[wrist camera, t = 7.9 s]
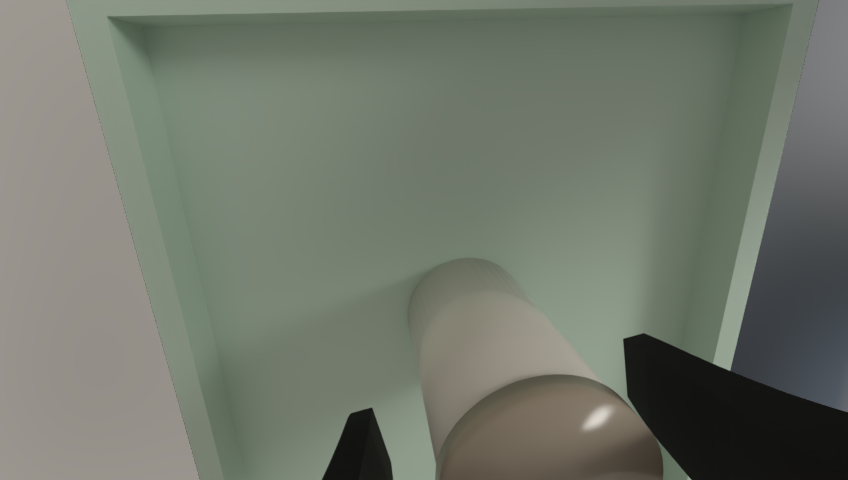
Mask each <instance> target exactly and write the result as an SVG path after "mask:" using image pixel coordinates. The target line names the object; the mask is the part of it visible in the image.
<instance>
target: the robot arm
mask: <svg viewBox="0 0 848 480" xmlns="http://www.w3.org/2000/svg"><path fill="white" fill-rule="evenodd" d="M623 345H624V358H625V372H626V385H627V397H628V398H629V400H630V401H631V403H632V405H633V406H634V408H635V409H636V411H637V412H638V414H639V415H640V417H641V418H642V420H643V421H644V423H645V424H646V426H647V427H648V428H649V429H650V430H651V432H652V433H653V435H654V436H655V437H656V439H657V440H658V441H659V442H660V443H661V445H662V446H663V447H664V448H665V449H666V451H667V452H668V453H669V454H670V455H671V456H672V458H673V459H674V460H675V461H676V462H677V464H678V465H679V466H680V467H681V468H682V469H683V471H684V472H685V473H686V474H687V475H688V476H689V478H690V479H691V480H848V412H844V411H841V410H837V409H834V408H831V407H828V406H825V405H822V404H819V403H815V402H812V401H809V400H806V399H803V398H800V397H797V396H794V395H791V394H788V393H785V392H783V391H780V390H777V389H774V388H772V387H769V386H767V385H764V384H761V383H759V382H756V381H753V380H751V379H748V378H746V377H743V376H741V375H738V374H736V373H733V372H731V371H729V370H727V369H724V368H722V367H719V366H717V365H715V364H713V363H710V362H708V361H706V360H703V359H701V358H699V357H697V356H694V355H692V354H690V353H688V352H686V351H683V350H681V349H679V348H677V347H675V346H672V345H670V344H668V343H666V342H664V341H661V340H659V339H657V338H654V337H652V336H650V335H647V334H645V333H642V334H639V335H635V336H632V337H628V338H624V339H623ZM322 480H393V474H392V465H391V460H390V457H389V455H388V452H387V449H386V446H385V443H384V440H383V437H382V434H381V431H380V428H379V426H378V423H377V420H376V417H375V414H374V411H373V408H368V409H364V410H361V411H357V412H353V413H350V415H349V416H348V418H347V421H346V424H345V426H344V429H343V431H342V434H341V437H340V439H339V442H338V444H337V446H336V449H335V451H334V454H333V456H332V458H331V461H330V463H329V465H328V467H327V469H326V472H325V474H324V476H323V478H322Z"/></svg>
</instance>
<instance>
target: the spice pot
mask: <svg viewBox="0 0 848 480" xmlns="http://www.w3.org/2000/svg"><path fill="white" fill-rule="evenodd" d="M408 325H409V330H410V335H411V340H412V345H413V350H414V355H415V360H416V366H417V371H418V376H419V381H420V386H421V391H422V396H423V401H424V406H425V411H426V416H427V421H428V427H429V432H430V437H431V442H432V447H433V452H434V457H435V462H436V471H435V480H663V458H662V454H661V450H660V447H659V444H658V442H657V440H656V438H655V436H654V435H653V433H652V432H651V430H650V429H649V428H648V427H647V426H646V424H645V423H644V422H643V421H642V420H641V419H640V418H639V416H638V415H637V414H636V413H635V412H634V411H633V410H632V408H631V407H630V406H629V405H628V404H627V403H626V402H625V401H624V400H623V399H622V398H621V397H620V396H619V395H618V394H617V393H616V392H615V391H613V390H612V389H611V388H609V387H608V386H606V385H605V384H604V383H603V382H602V381H601V380H600V379H599V377H598V376H597V375H596V374H595V373H594V372H593V370H592V369H591V368H590V367H589V366H588V365H587V363H586V362H585V361H584V360H583V359H582V358H581V356H580V355H579V354H578V353H577V352H576V351H575V350H574V348H573V347H572V346H571V345H570V344H569V343H568V341H567V340H566V339H565V338H564V337H563V336H562V334H561V333H560V332H559V331H558V330H557V329H556V327H555V326H554V325H553V324H552V323H551V322H550V320H549V319H548V318H547V317H546V316H545V315H544V313H543V312H542V311H541V310H540V309H539V308H538V306H537V305H536V304H535V303H534V302H533V301H532V299H531V298H530V297H529V296H528V295H527V294H526V292H525V291H524V290H523V289H522V288H521V287H520V285H519V284H518V283H517V282H516V281H515V280H514V278H513V277H512V276H511V275H510V274H509V273H508V272H507V271H506V270H505V269H503V268H502V267H501V266H499V265H497V264H495V263H493V262H491V261H488V260H484V259H480V258H460V259H455V260H452V261H449V262H446V263H444V264H441V265H440V266H438V267H436V268H435V269H433V270H432V271H430V272H429V273H428V274H427V275H426V276H425V277H424V278H423V279H422V280H421V281H420V282H419V284H418V285H417V287H416V288H415V290H414V292H413V294H412V296H411V299H410V302H409V306H408Z"/></svg>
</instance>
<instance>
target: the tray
mask: <svg viewBox="0 0 848 480" xmlns="http://www.w3.org/2000/svg"><path fill="white" fill-rule="evenodd" d="M66 2H67V5H68V9H69V13H70V16H71V20H72V23H73V27H74V30H75V34H76V38H77V41H78V45H79V48H80V52H81V55H82V59H83V63H84V66H85V70H86V73H87V77H88V81H89V84H90V88H91V91H92V95H93V98H94V102H95V105H96V109H97V113H98V116H99V120H100V123H101V127H102V131H103V134H104V138H105V141H106V145H107V149H108V152H109V156H110V159H111V163H112V167H113V170H114V174H115V177H116V181H117V184H118V188H119V191H120V195H121V199H122V202H123V206H124V210H125V213H126V217H127V220H128V223H129V227H130V231H131V235H132V238H133V242H134V245H135V249H136V252H137V256H138V260H139V263H140V267H141V270H142V274H143V277H144V281H145V285H146V288H147V292H148V295H149V298H150V303H151V306H152V309H153V313H154V317H155V321H156V324H157V328H158V331H159V335H160V338H161V342H162V346H163V349H164V353H165V356H166V360H167V364H168V367H169V371H170V374H171V378H172V381H173V385H174V388H175V392H176V396H177V399H178V403H179V406H180V410H181V413H182V417H183V421H184V424H185V428H186V432H187V435H188V439H189V442H190V446H191V449H192V453H193V456H194V460H195V464H196V467H197V471H198V474H199V478H200V480H322V478H323V476H324V474H325V472H326V469H327V467H328V465H329V463H330V461H331V458H332V456H333V454H334V451H335V449H336V446H337V444H338V442H339V439H340V437H341V434H342V431H343V429H344V426H345V424H346V421H347V418H348V416H349V415H350V413H353V412H357V411H361V410H364V409H368V408H373V411H374V414H375V417H376V420H377V423H378V426H379V428H380V431H381V434H382V437H383V440H384V443H385V446H386V449H387V452H388V455H389V457H390V460H391V465H392V474H393V480H435V471H436V462H435V457H434V452H433V447H432V442H431V437H430V432H429V427H428V421H427V416H426V411H425V406H424V401H423V396H422V391H421V386H420V381H419V376H418V371H417V366H416V360H415V355H414V350H413V345H412V340H411V335H410V330H409V325H408V306H409V302H410V299H411V296H412V294H413V292H414V290H415V288H416V287H417V285H418V284H419V282H420V281H421V280H422V279H423V278H424V277H425V276H426V275H427V274H428V273H429V272H430V271H432V270H433V269H435V268H436V267H438V266H440V265H441V264H444V263H446V262H449V261H452V260H455V259H460V258H480V259H484V260H488V261H491V262H493V263H495V264H497V265H499V266H501V267H502V268H503V269H505V270H506V271H507V272H508V273H509V274H510V275H511V276H512V277H513V278H514V280H515V281H516V282H517V283H518V284H519V285H520V287H521V288H522V289H523V290H524V291H525V292H526V294H527V295H528V296H529V297H530V298H531V299H532V301H533V302H534V303H535V304H536V305H537V306H538V308H539V309H540V310H541V311H542V312H543V313H544V315H545V316H546V317H547V318H548V319H549V320H550V322H551V323H552V324H553V325H554V326H555V327H556V329H557V330H558V331H559V332H560V333H561V334H562V336H563V337H564V338H565V339H566V340H567V341H568V343H569V344H570V345H571V346H572V347H573V348H574V350H575V351H576V352H577V353H578V354H579V355H580V356H581V358H582V359H583V360H584V361H585V362H586V363H587V365H588V366H589V367H590V368H591V369H592V370H593V372H594V373H595V374H596V375H597V376H598V377H599V379H600V380H601V381H602V382H603V383H604V384H605V385H606V386H608V387H609V388H611V389H612V390H613V391H615V392H616V393H617V394H618V395H619V396H620V397H621V398H622V399H623V400H624V401H625V402H626V403H627V404H628V405H629V406H630V407H631V408H632V410H633V411H634V412H635V413H636V414H637V415H638V416H639V418H640V419H641V420H642V418H641V417H640V415H639V414H638V412H637V411H636V409H635V408H634V406H633V405H632V403H631V401H630V400H629V398H628V397H627V385H626V372H625V358H624V345H623V339H624V338H628V337H632V336H635V335H639V334H642V333H645V334H647V335H650V336H652V337H654V338H657V339H659V340H661V341H664V342H666V343H668V344H670V345H672V346H675V347H677V348H679V349H681V350H683V351H686V352H688V353H690V354H692V355H694V356H697V357H699V358H701V359H703V360H706V361H708V362H710V363H713V364H715V365H717V366H719V367H722V368H724V369H727V370H729V371H730V369H731V364H732V360H733V356H734V352H735V348H736V344H737V340H738V335H739V331H740V327H741V323H742V318H743V315H744V310H745V306H746V302H747V298H748V294H749V289H750V285H751V281H752V277H753V273H754V269H755V265H756V260H757V256H758V252H759V248H760V244H761V240H762V236H763V231H764V227H765V223H766V218H767V215H768V210H769V206H770V202H771V198H772V194H773V190H774V186H775V181H776V177H777V173H778V169H779V165H780V161H781V156H782V152H783V148H784V144H785V140H786V136H787V132H788V127H789V123H790V119H791V115H792V111H793V106H794V102H795V98H796V94H797V89H798V85H799V82H800V77H801V73H802V69H803V65H804V61H805V57H806V52H807V48H808V44H809V40H810V36H811V31H812V27H813V23H814V18H815V15H816V11H817V7H818V2H819V0H66ZM642 421H643V420H642ZM643 422H644V421H643ZM655 438H656V437H655ZM656 440H657V439H656ZM657 442H658V444H659V447H660V450H661V454H662V458H663V480H691V479H690V478H689V476H688V475H687V474H686V473H685V472H684V471H683V469H682V468H681V467H680V466H679V465H678V464H677V462H676V461H675V460H674V459H673V458H672V456H671V455H670V454H669V453H668V452H667V451H666V449H665V448H664V447H663V446H662V445H661V443H660V442H659V441H658V440H657Z"/></svg>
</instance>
